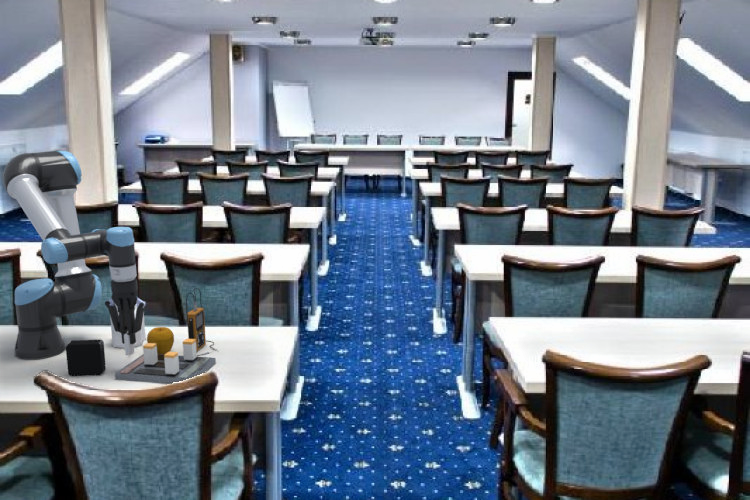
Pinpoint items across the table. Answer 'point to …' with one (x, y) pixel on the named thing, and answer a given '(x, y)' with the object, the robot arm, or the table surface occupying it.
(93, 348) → the electronic device
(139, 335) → the jar
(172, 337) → the apple
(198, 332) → the multimeter
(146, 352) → the block
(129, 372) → the panel
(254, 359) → the table surface
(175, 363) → the breaker near
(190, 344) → the breaker far
